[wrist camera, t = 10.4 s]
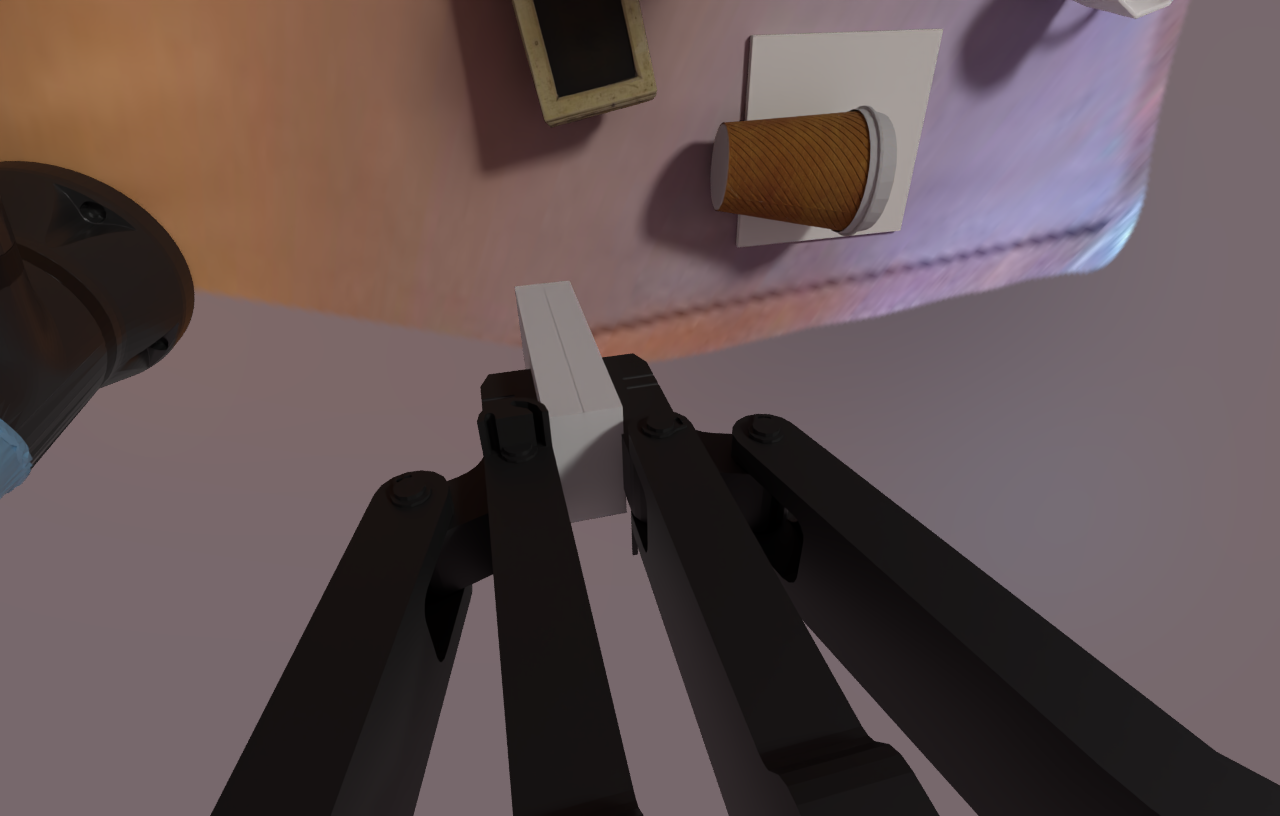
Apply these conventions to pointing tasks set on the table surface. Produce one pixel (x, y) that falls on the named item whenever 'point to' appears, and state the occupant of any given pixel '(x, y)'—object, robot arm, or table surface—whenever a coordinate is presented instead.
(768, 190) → the disposable coffee cup
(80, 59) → the table surface
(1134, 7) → the cup
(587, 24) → the box
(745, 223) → the felt mat
